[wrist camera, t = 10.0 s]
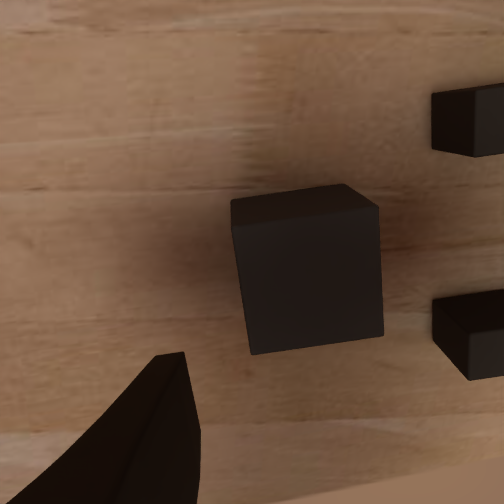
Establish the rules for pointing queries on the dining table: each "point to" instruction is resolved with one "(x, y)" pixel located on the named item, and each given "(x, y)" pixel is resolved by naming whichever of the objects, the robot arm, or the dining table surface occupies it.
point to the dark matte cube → (308, 267)
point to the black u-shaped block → (481, 304)
